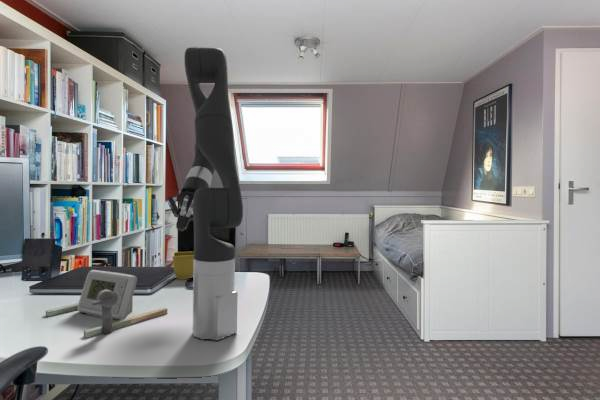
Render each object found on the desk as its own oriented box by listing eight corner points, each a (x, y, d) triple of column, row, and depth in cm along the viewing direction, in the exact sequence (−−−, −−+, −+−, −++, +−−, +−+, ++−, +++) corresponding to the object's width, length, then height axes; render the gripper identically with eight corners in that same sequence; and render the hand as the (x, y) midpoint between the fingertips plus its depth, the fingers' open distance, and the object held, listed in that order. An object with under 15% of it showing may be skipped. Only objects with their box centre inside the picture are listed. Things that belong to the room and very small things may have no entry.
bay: (172, 315, 95) (172, 278, 94) (91, 340, 78) (92, 296, 78) (122, 297, 109) (123, 265, 108) (45, 315, 92) (45, 277, 92)
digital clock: (74, 312, 95) (74, 271, 95) (108, 303, 103) (108, 266, 103) (109, 326, 87) (109, 281, 86) (143, 315, 94) (143, 274, 94)
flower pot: (172, 275, 136) (173, 251, 135) (197, 274, 138) (197, 251, 138) (172, 281, 127) (172, 256, 127) (198, 280, 130) (198, 255, 130)
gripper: (176, 170, 109) (155, 215, 98) (219, 181, 111) (205, 227, 100) (175, 186, 115) (156, 231, 103) (217, 197, 117) (202, 242, 106)
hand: (180, 229), depth 102 cm, fingers closed
